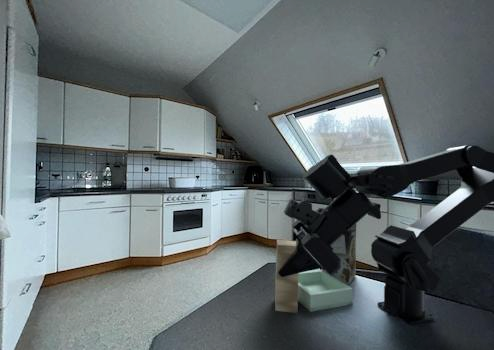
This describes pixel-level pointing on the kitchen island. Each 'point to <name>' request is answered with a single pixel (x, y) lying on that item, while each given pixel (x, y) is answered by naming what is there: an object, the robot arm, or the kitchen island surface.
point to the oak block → (285, 279)
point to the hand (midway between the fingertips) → (279, 270)
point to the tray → (322, 291)
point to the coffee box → (346, 257)
